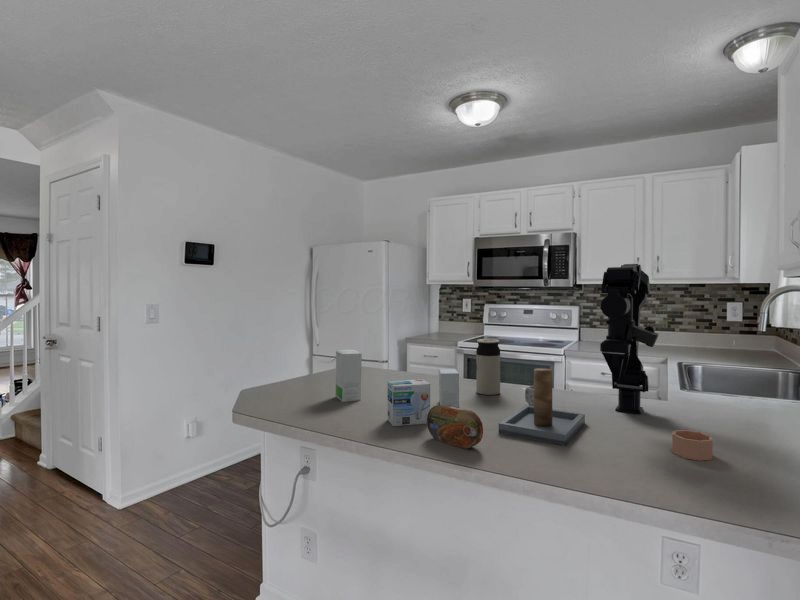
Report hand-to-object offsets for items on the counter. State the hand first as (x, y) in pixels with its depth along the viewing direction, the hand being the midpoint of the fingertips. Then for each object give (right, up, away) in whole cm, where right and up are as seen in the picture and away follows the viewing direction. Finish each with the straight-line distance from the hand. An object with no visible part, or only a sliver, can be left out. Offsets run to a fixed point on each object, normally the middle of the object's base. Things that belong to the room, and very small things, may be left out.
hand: (619, 376), depth 115 cm
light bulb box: (-54, -14, +6) cm, 56 cm away
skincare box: (-73, -13, +31) cm, 81 cm away
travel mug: (-26, -12, +38) cm, 48 cm away
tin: (-44, -14, -11) cm, 47 cm away
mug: (-16, -13, +18) cm, 27 cm away
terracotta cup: (+7, -14, -18) cm, 24 cm away
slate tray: (-20, -13, 0) cm, 24 cm away
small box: (-42, -13, +23) cm, 49 cm away
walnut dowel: (-20, -12, -1) cm, 23 cm away
